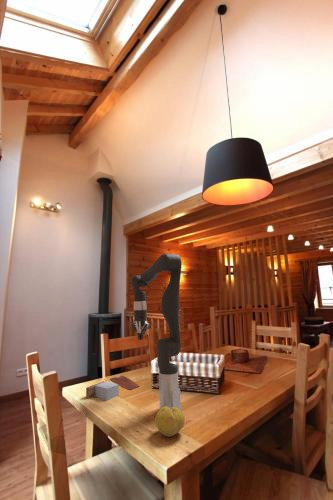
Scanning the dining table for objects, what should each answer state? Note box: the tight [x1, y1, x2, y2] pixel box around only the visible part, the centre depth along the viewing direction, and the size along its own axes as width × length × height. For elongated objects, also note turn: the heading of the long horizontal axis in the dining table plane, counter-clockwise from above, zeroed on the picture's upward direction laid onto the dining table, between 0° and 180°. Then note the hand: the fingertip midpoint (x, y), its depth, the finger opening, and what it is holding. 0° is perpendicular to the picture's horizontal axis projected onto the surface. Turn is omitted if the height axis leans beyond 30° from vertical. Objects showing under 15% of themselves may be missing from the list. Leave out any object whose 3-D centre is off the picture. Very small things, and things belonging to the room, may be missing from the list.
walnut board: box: [85, 381, 105, 400], centre depth 145 cm, size 3×12×5 cm, turn 143°
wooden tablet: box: [109, 375, 141, 391], centre depth 162 cm, size 27×10×2 cm, turn 36°
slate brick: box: [94, 380, 120, 401], centre depth 143 cm, size 10×8×6 cm
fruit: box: [154, 406, 185, 438], centre depth 103 cm, size 11×12×10 cm
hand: (140, 339), depth 149 cm, fingers closed
